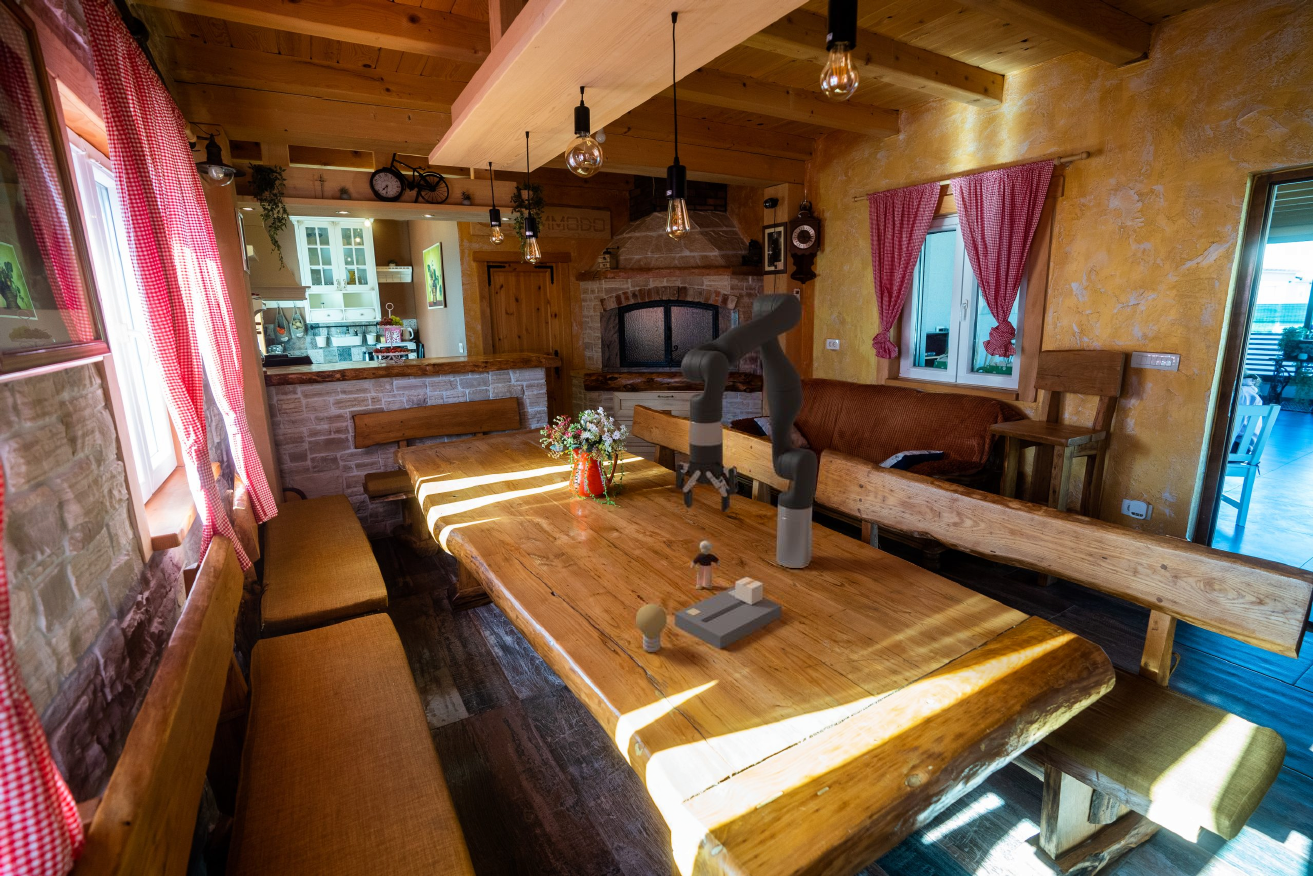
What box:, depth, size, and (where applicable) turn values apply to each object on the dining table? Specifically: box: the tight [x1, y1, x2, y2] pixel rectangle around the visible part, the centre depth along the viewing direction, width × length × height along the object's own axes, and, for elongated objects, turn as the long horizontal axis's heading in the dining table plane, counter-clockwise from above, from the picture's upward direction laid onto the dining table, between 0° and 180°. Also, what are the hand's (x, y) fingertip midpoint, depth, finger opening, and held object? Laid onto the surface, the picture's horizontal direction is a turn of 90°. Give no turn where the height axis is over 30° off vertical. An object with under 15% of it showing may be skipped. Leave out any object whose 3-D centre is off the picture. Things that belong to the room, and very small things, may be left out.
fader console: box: [674, 585, 783, 650], centre depth 145 cm, size 21×14×3 cm, turn 132°
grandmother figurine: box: [690, 540, 722, 590], centre depth 161 cm, size 8×4×13 cm, turn 105°
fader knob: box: [734, 576, 764, 605], centre depth 149 cm, size 4×5×4 cm
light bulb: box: [635, 603, 668, 653], centre depth 133 cm, size 6×6×10 cm
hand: (706, 508), depth 145 cm, fingers open, 8 cm apart
